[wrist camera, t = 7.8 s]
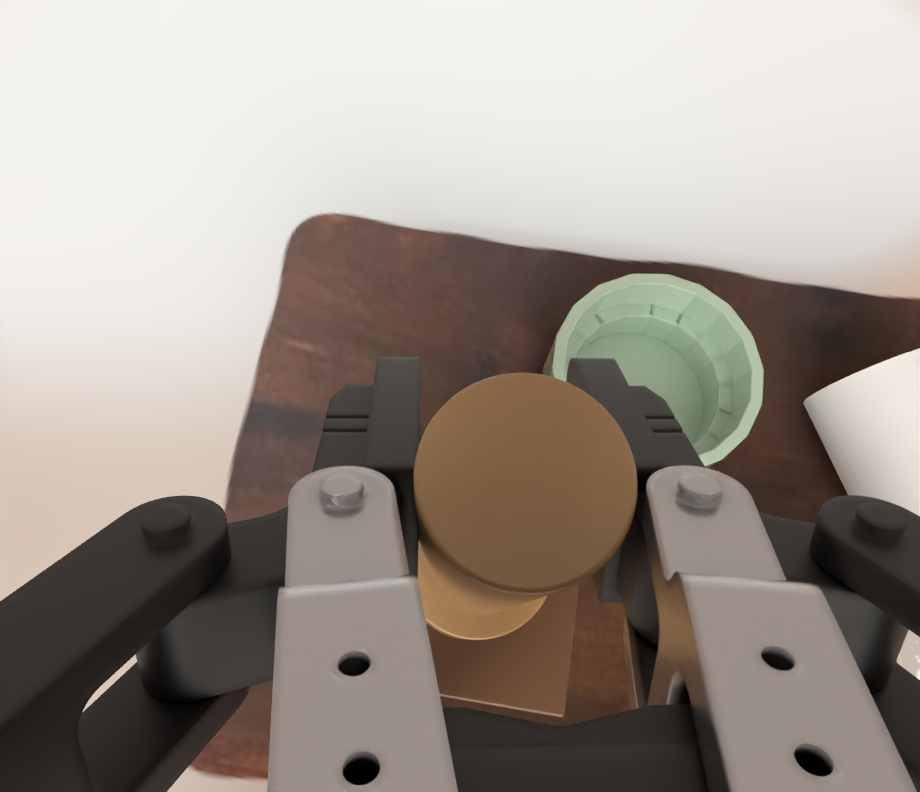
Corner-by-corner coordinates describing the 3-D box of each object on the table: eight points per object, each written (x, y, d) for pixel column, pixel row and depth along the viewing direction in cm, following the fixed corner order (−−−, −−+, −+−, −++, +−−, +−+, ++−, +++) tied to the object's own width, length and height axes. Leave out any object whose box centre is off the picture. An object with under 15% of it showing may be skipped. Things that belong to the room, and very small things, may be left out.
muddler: (390, 626, 19) (337, 611, 8) (415, 490, 21) (400, 308, 9) (527, 650, 19) (670, 670, 8) (545, 512, 21) (693, 358, 9)
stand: (369, 660, 37) (326, 676, 22) (395, 519, 39) (373, 445, 24) (509, 684, 37) (564, 718, 22) (528, 542, 39) (591, 481, 24)
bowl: (526, 477, 40) (540, 453, 35) (550, 302, 43) (567, 256, 38) (716, 510, 40) (759, 490, 35) (726, 332, 43) (767, 289, 38)
